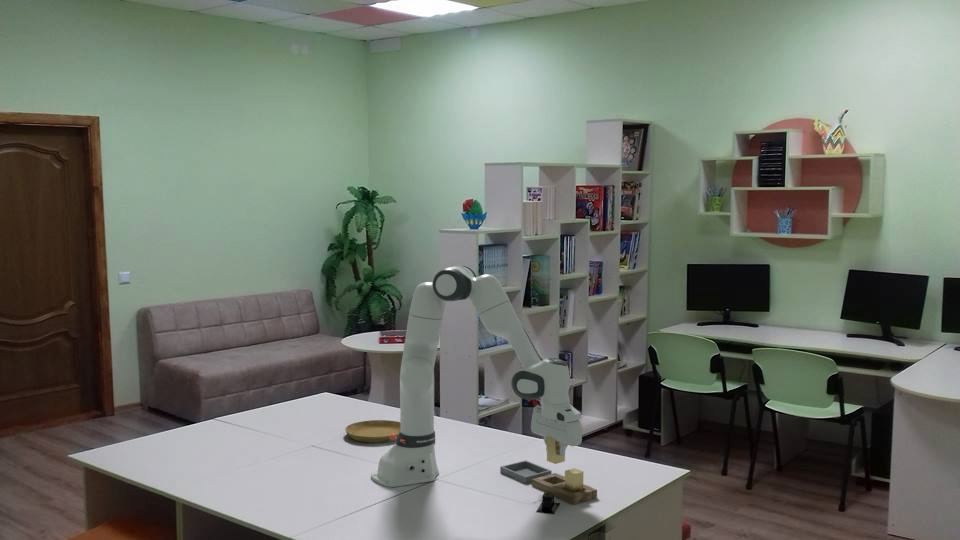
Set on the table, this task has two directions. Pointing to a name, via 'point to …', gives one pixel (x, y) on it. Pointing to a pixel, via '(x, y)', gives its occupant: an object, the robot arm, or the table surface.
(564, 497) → the pallet
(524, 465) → the shallow grey tray
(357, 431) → the plant saucer
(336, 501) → the table surface
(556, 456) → the block
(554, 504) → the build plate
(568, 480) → the block
